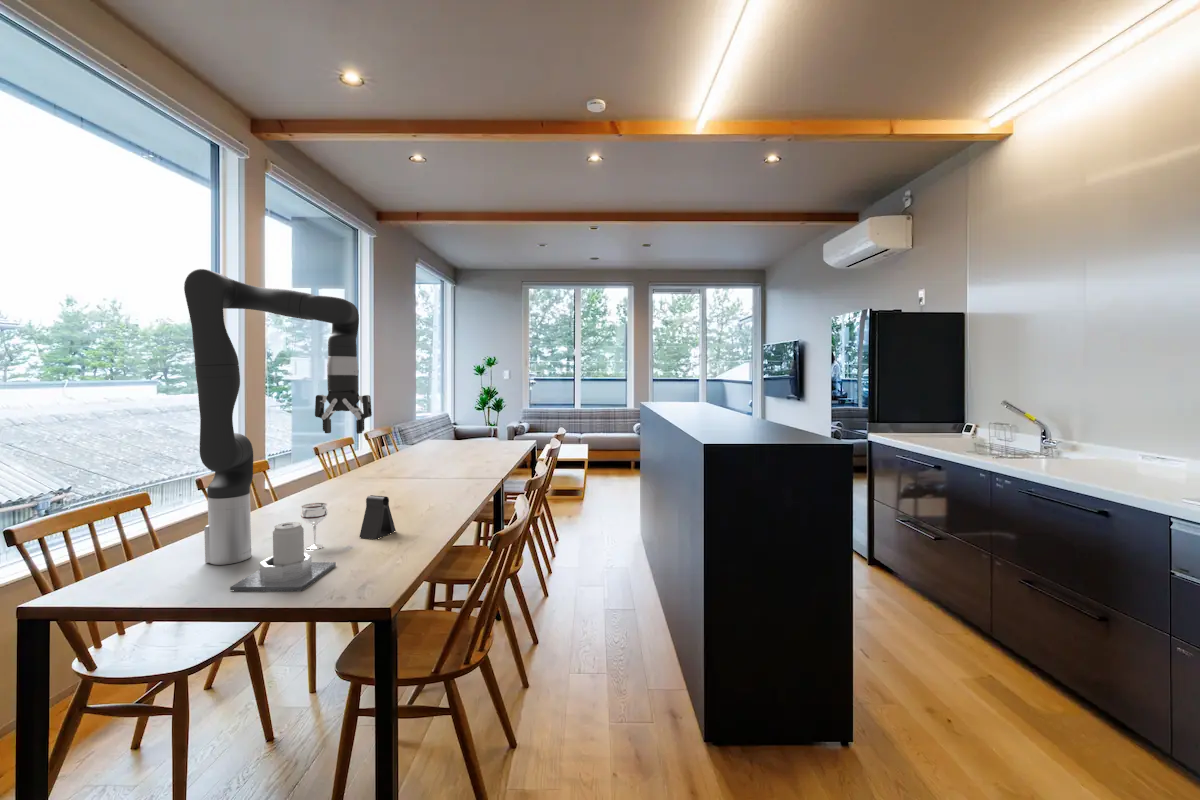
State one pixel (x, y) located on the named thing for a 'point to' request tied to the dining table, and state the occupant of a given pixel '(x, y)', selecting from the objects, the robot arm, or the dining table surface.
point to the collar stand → (284, 576)
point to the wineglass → (314, 518)
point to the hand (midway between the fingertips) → (343, 433)
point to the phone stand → (377, 518)
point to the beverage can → (288, 543)
